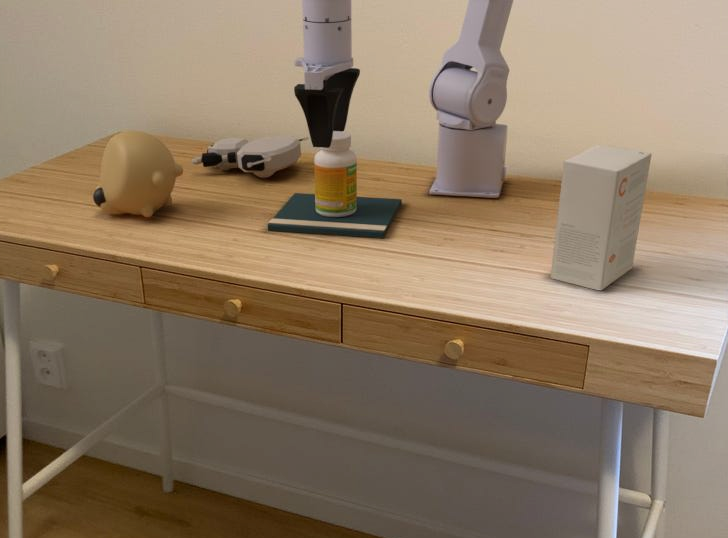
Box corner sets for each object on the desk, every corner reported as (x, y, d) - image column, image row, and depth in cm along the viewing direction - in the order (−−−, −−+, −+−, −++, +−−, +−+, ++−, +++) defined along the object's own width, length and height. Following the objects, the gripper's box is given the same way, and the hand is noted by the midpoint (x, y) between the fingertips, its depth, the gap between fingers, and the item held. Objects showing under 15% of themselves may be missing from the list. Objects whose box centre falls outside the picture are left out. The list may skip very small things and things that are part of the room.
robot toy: (189, 181, 138) (277, 185, 132) (184, 150, 136) (273, 153, 129) (230, 160, 147) (314, 162, 141) (226, 130, 145) (312, 132, 138)
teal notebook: (401, 204, 125) (402, 198, 124) (383, 238, 114) (383, 231, 114) (294, 198, 128) (294, 192, 127) (267, 230, 118) (267, 223, 117)
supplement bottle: (352, 219, 118) (352, 141, 113) (311, 217, 119) (309, 140, 114) (359, 205, 122) (359, 129, 117) (320, 203, 123) (318, 128, 118)
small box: (581, 256, 108) (598, 142, 101) (633, 269, 105) (654, 151, 97) (547, 278, 103) (562, 159, 96) (600, 292, 99) (620, 170, 92)
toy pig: (159, 226, 130) (105, 170, 129) (205, 167, 123) (148, 107, 122) (120, 248, 123) (63, 188, 121) (166, 186, 115) (105, 122, 114)
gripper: (309, 9, 115) (312, 122, 122) (276, 28, 103) (282, 152, 111) (365, 10, 113) (364, 124, 121) (338, 30, 102) (339, 155, 109)
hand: (329, 138), depth 116 cm, fingers open, 7 cm apart
